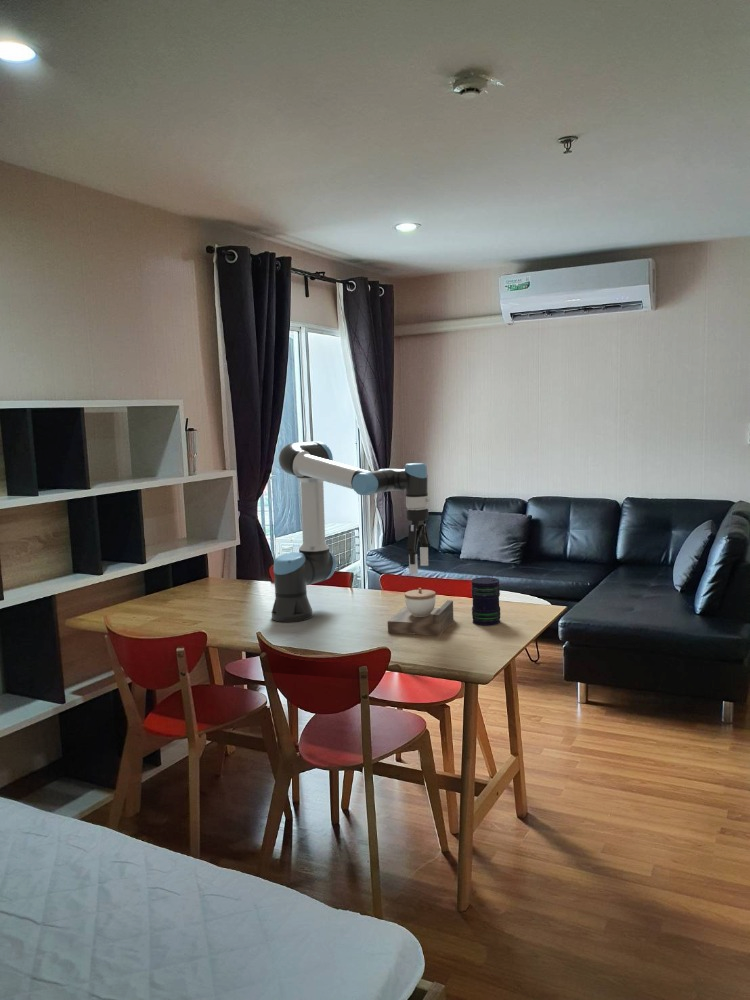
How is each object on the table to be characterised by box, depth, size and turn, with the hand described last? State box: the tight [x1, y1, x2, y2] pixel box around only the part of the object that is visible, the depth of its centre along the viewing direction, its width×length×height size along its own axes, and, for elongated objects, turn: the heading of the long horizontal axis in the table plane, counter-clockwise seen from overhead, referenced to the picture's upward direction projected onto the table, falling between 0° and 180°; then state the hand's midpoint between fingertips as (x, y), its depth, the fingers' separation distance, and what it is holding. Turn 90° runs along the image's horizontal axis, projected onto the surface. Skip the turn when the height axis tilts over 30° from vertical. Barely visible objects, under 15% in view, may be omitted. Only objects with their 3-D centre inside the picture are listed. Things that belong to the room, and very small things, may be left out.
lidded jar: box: [404, 587, 437, 617], centre depth 267 cm, size 11×11×9 cm
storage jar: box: [470, 576, 501, 627], centre depth 268 cm, size 10×10×15 cm
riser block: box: [387, 600, 455, 636], centre depth 267 cm, size 18×20×7 cm
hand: (419, 569), depth 266 cm, fingers open, 13 cm apart
